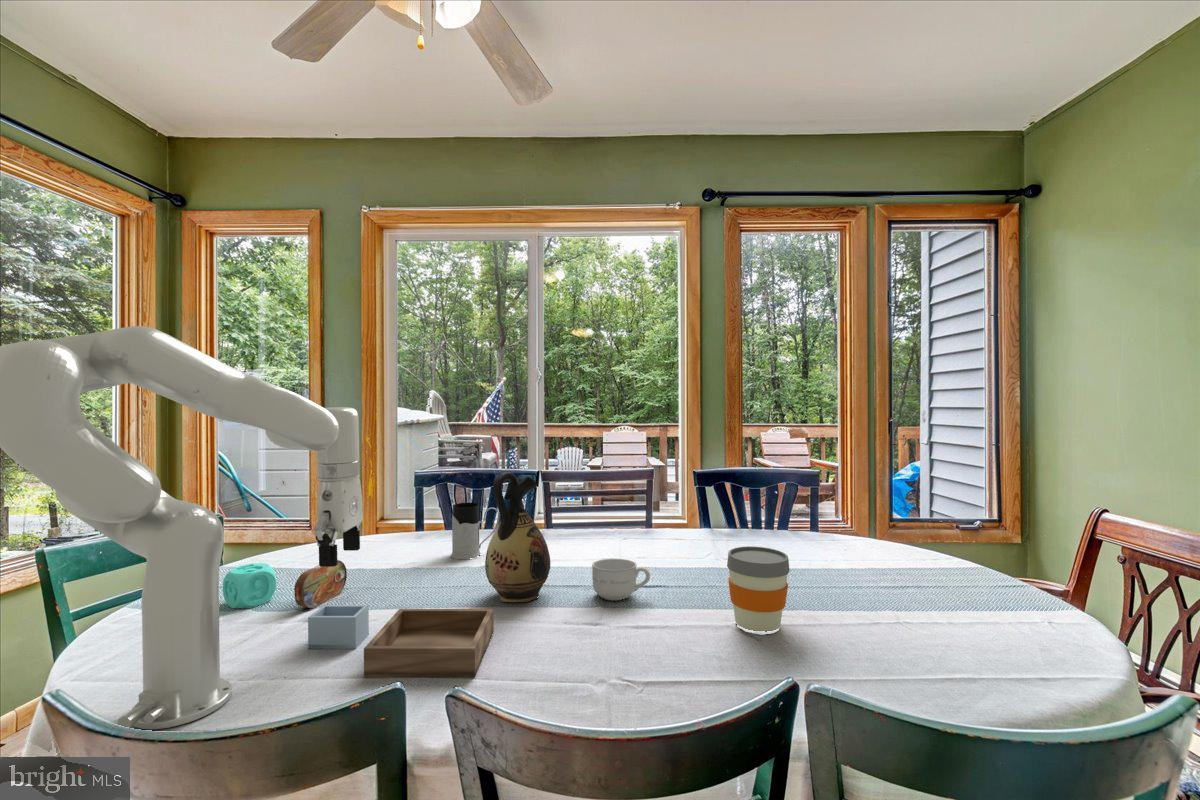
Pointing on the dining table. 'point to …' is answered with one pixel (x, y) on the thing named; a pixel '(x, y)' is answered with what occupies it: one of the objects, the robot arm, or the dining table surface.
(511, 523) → the ceramic jug
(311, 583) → the tin
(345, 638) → the small crate
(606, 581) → the teacup
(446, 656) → the tray
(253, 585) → the decorative dice
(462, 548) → the glass holder
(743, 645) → the dining table surface
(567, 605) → the dining table surface
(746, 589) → the reusable coffee cup
